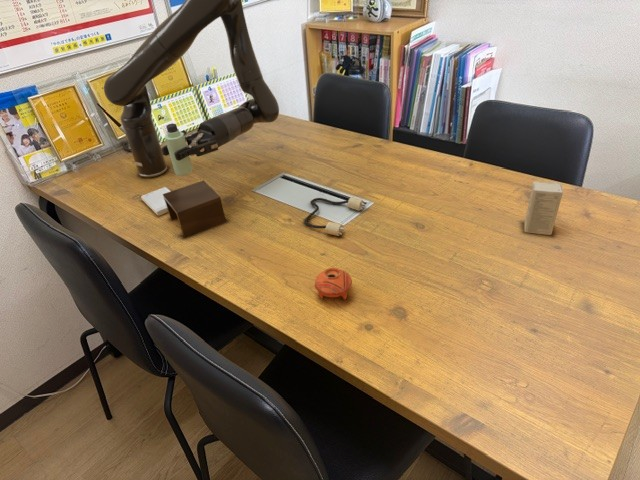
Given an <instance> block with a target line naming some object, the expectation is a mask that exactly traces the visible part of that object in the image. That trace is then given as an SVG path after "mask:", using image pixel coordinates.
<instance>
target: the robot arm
mask: <svg viewBox="0 0 640 480" xmlns="http://www.w3.org/2000/svg"><path fill="white" fill-rule="evenodd" d="M219 18H220V19H221V22H222V24H223V26H224V30H225V32H226V38H227V41H228V49H229V56H230V62H231V65H232V69H233V72H234V74H235V77H236V80H237V83H238V85H239V87H240V90H241V91H242V92H243V93H245V94H247V95H250V96H251V98H250V99H248V100H246V101H244V102H243V103H241V104H239V106H238V107H235V108H233V109H231V110H229V111H227V112H223V113H220V114H218V115H216V116H213V117H211V118H209V119H207V120H204V121H202V122H201V123H200V124H199V125H198V128H197V130H194V131H190V133H187V131H186V130H185V129H183V130H181V131H180V132H182V133H183V134H184V138H185V141H186V145H187V147H184V148H182V149H180V150H178V151H176V152H175V153H174V155H175V158H176V160H178V161H180V160H182V159H184V158H186V157H188V156H189V157H194V156H196V157H199V158H200V157H202V156H205V155H208V154H210V153H213V152H216V151H218V150H219V148H221V147H223V146H225V145H226V144H228V143H230V142H232V141H234V140H235V139H237V138H238V137H239V136H241V135H243V134H245V133H248V132H249V131H250V130H251V129H253V127H254V125H255V124H264V123H265V124H267V123H268V124H269V123H273V122H275V121H276V120H277V119H278V117H279V115H280V106H279V103H278V100H277V99H276V97H275V95H274V93H273V91H272V90H271V88H270V87H269V85H268V84H267V83H266V81H265V79H264V77H263V73H262V71H261V68H260V65H259V62H258V59H257V56H256V54H255V51H254V48H253V44H252V40H251V38H250V33H249V29H248V25H247V22H246V21H247V20H246V17H245V11H244V7H243V2H242V0H184V2H183V3H182V4H181V5H180V7H179V8H177V10H175V11H174V12H173V13H171V14H170V15H169V16H168V17H166V19H164V20H163V22H161V23H160V24H159V25H157V27H155V29H154V30H153V31H152V32H151V33H150V34H149V35H148V37H146V38H145V40H144V41H143V42H142V43H141V44H140V45H139V47H138V48H137V49H136V51H135V52H134V53H133V54H132V56H131V57H130V58H129V60H128V61H126V63H125V64H123V65H122V66H121V67H120V68H118V69H117V70H116V71H114V72H113V73H112V74H110V75H109V76H108V77H107V78H106V80H105V81H104V84H103V93H104V96H105V98H106V99H107V101H109V102H110V103H111V104H113V105H115V106H118V107H122V112H121V114H120V118H119V119H120V123H121V126H122V128H123V131H124V134H125V137H126V139H127V143H128V145H129V148H127V147H126V145H127V143H126V142H125V141H123V142H122V148H123V150H125V151H127V152H131V154H132V157H133V161H134V165H135V166H136V169H137V173H138V175H139V177H141V178H145V179H149V178H155V177H159V176H161V175H163V174H165V173H166V172H167V171H168V165H167V163H166V158H165V157H167V156H170V154H169V151H168V147H167V144H166V145H164V146H161V143H160V140H159V137H158V133H157V130H156V126H155V124H154V120H153V116H152V113H153V112H152V111H153V110H152V109H153V108H152V103H151V101H150V100H151V99H150V95H149V91H148V88H147V84H148V83H149V82H151V81H152V80H153V79H155V78H157V77H158V76H159V75H161V74H163V73H164V72H166V71H167V70H169V69H170V68H171V67H172V66H173V65H175V64H176V63H177V62H178V60H180V59H181V58H182V57H184V55H185V54H186V53H187V52H188V51H189V49H191V46H192V45H193V43H194V42H195V40H196V38H197V37H198V35H199V34H200V33H201V32H202V31H204V29H206V28H207V27H208V26H209V25H210V24H212V23H213V22H215V21H216V20H217V19H219Z"/></svg>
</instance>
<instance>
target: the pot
mask: <svg viewBox="0 0 640 480" xmlns="http://www.w3.org/2000/svg"><path fill="white" fill-rule="evenodd" d="M352 284H353V280H352V277H351V274H349V273H348V272H346V271H345V270H343V269H339V268H338V267H329V268H327V269H325V270H323V271H321V272H320V273H319V274H317V276H316V277H315V279H314V287H315V290H317V292H318V295H319V297H320V298H321V299H323V298H324V296H325V297H328V298H338V297H340V296H341V297H342V299H343V300H344V301H345V300H346V299H347V297H348V291H350V289H351V287H352Z"/></svg>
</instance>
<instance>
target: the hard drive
mask: <svg viewBox="0 0 640 480" xmlns="http://www.w3.org/2000/svg"><path fill="white" fill-rule="evenodd" d="M171 191H172V190H170V189H169V188H168V187H167V186H163V187H161V188H159V189H156V190H153V191H150V192H148V193H146V194H143V195H141V196H140V199H141V201H142V202H144V204H145V205H146V206H147V207H148V208H150V209H151V211H152V212H153V213H154V214H155V215H157V217H159V216H163V215H164V214H167V213H168V209H167V206H166V203H165V200H164V197H163V194H165V193H168V192H171Z"/></svg>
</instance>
